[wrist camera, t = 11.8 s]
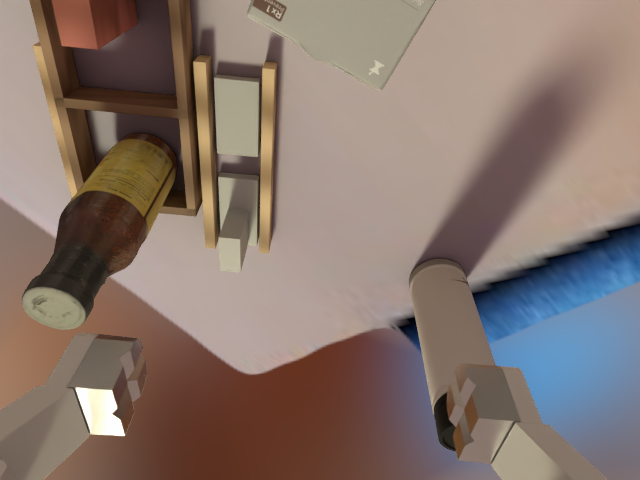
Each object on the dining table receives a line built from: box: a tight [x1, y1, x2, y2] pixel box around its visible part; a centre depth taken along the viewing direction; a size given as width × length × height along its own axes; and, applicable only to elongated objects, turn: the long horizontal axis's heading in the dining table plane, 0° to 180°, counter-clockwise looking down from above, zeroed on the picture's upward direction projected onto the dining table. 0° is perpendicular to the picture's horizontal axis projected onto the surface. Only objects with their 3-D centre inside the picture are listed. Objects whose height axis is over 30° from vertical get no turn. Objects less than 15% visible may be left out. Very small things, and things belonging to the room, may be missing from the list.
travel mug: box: [409, 259, 496, 451], centre depth 45 cm, size 6×7×20 cm
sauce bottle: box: [22, 133, 177, 330], centre depth 38 cm, size 6×6×20 cm
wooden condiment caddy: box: [30, 0, 203, 216], centre depth 38 cm, size 22×11×8 cm, turn 175°
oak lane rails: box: [33, 42, 277, 253], centre depth 45 cm, size 19×19×2 cm
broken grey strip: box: [214, 74, 260, 272], centre depth 44 cm, size 18×4×6 cm, turn 175°
